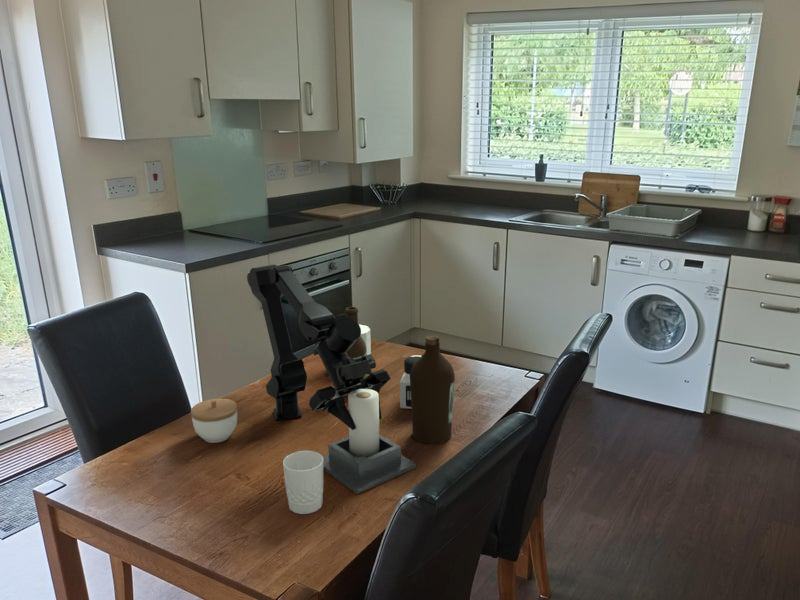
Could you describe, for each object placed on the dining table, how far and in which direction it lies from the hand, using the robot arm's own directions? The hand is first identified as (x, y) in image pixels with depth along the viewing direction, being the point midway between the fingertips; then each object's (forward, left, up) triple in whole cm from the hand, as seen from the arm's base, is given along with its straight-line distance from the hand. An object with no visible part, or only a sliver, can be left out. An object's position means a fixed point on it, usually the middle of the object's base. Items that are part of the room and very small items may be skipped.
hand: (367, 424), depth 143 cm
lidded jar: (-25, -31, -11) cm, 42 cm away
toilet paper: (-59, +11, -11) cm, 61 cm away
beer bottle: (-42, +7, -11) cm, 44 cm away
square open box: (-1, 0, -11) cm, 11 cm away
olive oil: (-10, +19, -11) cm, 24 cm away
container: (-28, +21, -11) cm, 37 cm away
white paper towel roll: (-1, -1, -7) cm, 7 cm away
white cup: (+10, -15, -11) cm, 21 cm away
